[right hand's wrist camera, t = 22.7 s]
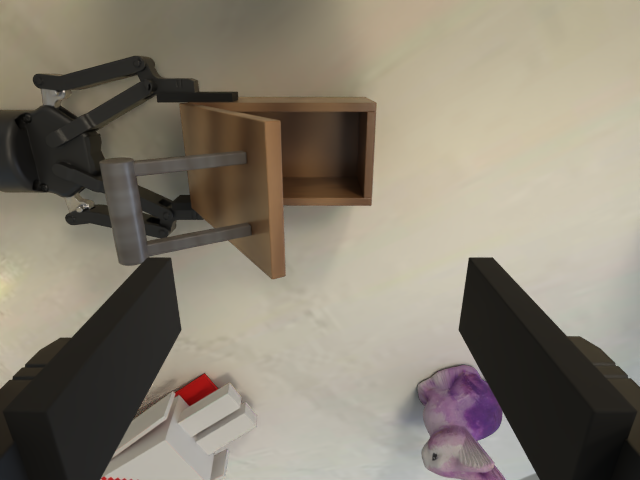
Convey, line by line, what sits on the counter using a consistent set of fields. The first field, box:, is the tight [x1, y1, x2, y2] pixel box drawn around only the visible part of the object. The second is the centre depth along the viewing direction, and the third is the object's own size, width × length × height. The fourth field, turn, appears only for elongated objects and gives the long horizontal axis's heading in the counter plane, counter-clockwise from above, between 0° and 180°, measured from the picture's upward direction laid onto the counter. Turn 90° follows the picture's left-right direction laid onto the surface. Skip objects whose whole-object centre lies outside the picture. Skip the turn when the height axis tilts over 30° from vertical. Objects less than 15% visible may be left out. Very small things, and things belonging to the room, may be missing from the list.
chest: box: [188, 97, 376, 206], centre depth 41 cm, size 16×9×9 cm, turn 90°
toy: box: [100, 373, 257, 480], centre depth 56 cm, size 12×13×30 cm
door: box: [99, 103, 286, 279], centre depth 28 cm, size 17×9×9 cm
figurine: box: [417, 365, 506, 480], centre depth 51 cm, size 9×10×15 cm
